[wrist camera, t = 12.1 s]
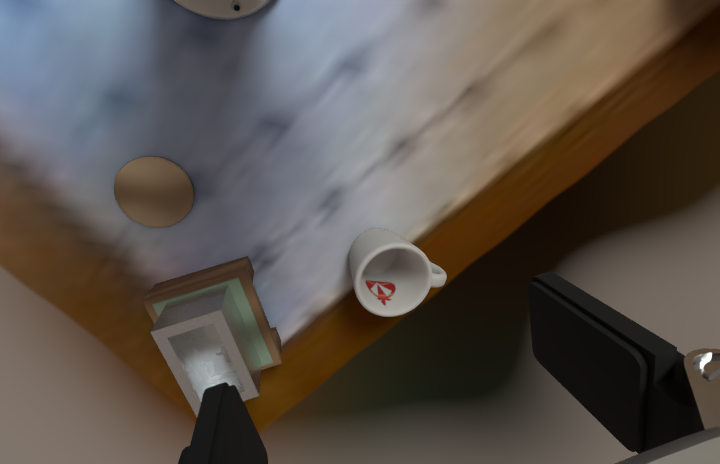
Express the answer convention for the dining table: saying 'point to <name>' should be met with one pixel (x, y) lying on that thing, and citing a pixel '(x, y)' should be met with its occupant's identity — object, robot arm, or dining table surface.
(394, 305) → the cup
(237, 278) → the stand
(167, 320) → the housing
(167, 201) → the coaster
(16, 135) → the dining table surface
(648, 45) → the dining table surface
